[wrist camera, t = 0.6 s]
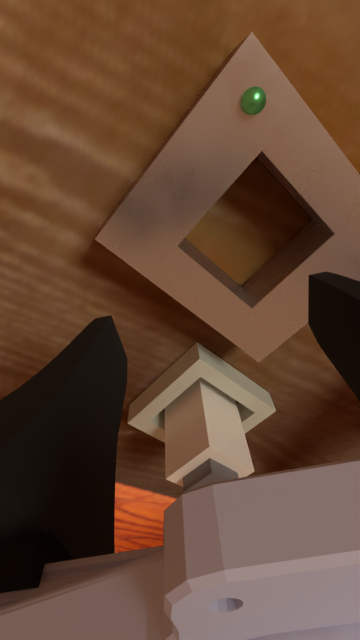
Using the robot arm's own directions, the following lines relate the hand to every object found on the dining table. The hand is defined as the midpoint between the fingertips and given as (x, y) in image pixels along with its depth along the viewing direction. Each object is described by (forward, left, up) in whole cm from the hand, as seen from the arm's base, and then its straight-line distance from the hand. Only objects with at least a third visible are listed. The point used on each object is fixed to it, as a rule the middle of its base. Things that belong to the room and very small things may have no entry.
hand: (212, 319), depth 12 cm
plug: (-10, +10, -10) cm, 17 cm away
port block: (-2, -3, -10) cm, 10 cm away
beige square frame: (-10, +10, -10) cm, 17 cm away
